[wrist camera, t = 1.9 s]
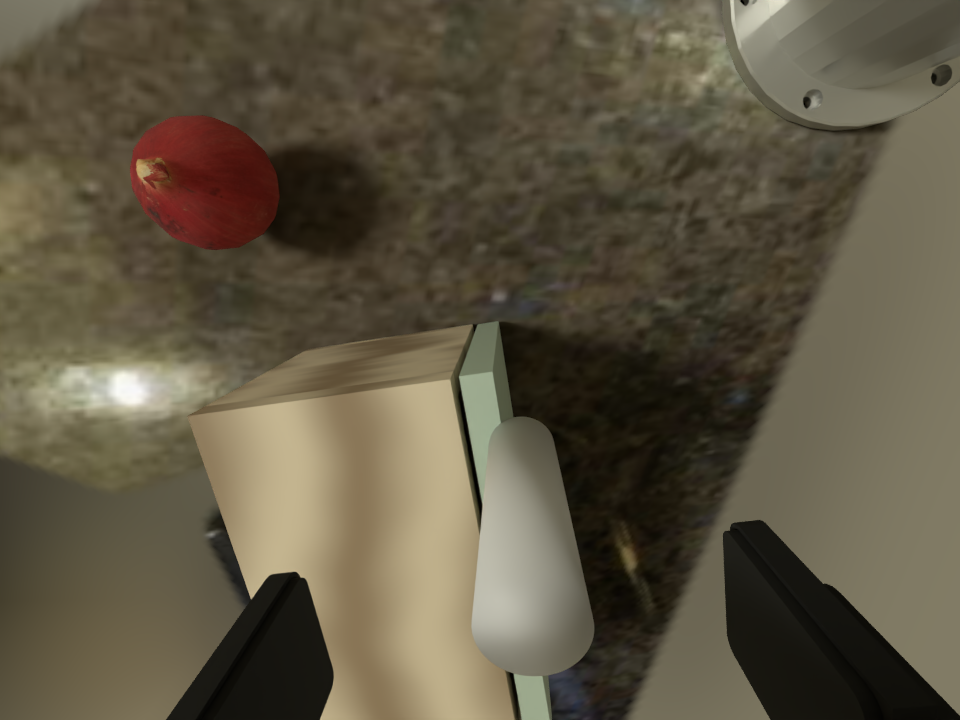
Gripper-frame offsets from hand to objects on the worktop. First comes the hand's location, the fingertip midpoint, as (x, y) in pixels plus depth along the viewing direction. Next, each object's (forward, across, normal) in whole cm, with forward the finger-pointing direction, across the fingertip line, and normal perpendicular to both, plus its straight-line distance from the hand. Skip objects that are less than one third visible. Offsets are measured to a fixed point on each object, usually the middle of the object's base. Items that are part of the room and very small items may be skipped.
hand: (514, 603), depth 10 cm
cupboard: (+18, +6, +5) cm, 19 cm away
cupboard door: (+17, 0, +5) cm, 18 cm away
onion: (+18, +12, -13) cm, 25 cm away
